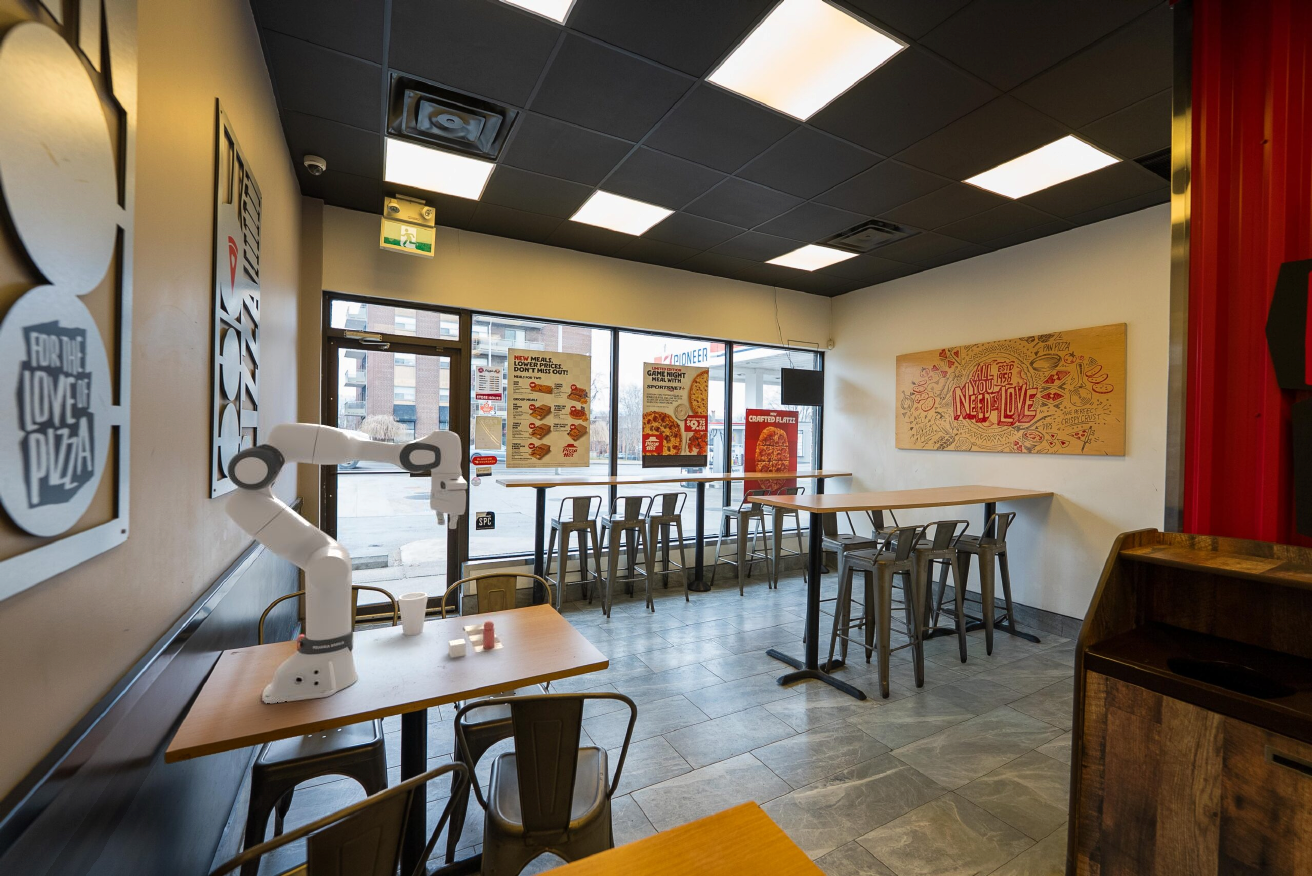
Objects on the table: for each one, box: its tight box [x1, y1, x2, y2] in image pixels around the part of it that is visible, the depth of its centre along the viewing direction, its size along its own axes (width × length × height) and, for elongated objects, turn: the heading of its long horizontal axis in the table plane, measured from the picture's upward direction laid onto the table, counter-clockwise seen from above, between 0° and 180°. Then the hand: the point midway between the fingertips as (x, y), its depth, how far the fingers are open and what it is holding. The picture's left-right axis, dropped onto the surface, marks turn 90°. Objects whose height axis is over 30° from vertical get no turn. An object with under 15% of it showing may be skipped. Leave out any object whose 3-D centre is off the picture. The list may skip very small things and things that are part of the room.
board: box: [462, 623, 504, 653], centre depth 191 cm, size 9×28×1 cm, turn 27°
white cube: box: [448, 638, 467, 659], centre depth 175 cm, size 4×4×4 cm
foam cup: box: [398, 591, 428, 636], centre depth 197 cm, size 10×9×13 cm
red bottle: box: [482, 620, 495, 649], centre depth 181 cm, size 4×4×9 cm
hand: (446, 526), depth 171 cm, fingers open, 8 cm apart
